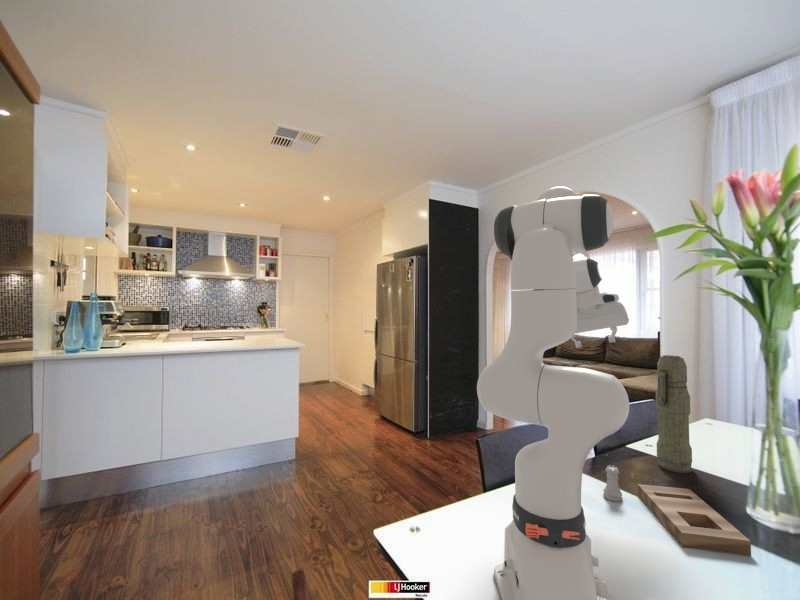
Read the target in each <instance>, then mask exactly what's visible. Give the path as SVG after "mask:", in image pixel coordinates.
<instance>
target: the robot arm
mask: <svg viewBox="0 0 800 600" xmlns="http://www.w3.org/2000/svg"><path fill="white" fill-rule="evenodd" d="M614 217H615V216H614V212H613V209H612V207H611V206H610V204H609V202H608V199H606V198H604V197H603V196H602V195H599V194H583V195H582V196H579V195H578V194H577V192H575V191H574V190H573V189H571V188H569V187H566V186H554V187H551V188H549V189H547V190H545V191H543V192H542V193H541V194H540V195H539V196H538V197H537V199H536V200H533V201H529V202H526V203H522V204H519V205H510V206H508V207H505V208H502V209H501V210H500V211H499V212H498V213H497V215H496V216H495V219H494V223H493V237H494V241H495V245H496V248H497V249H498V250H499V251H500V253H502V254H503V255H504V256H507V257H508V258H509V259H510V260H511V267H510V269H511V270H510V327H509V334H508V337H507V340H506V343H505V345H504V348H503V349H502V351H501V352H500V354H499V355H498V357H496V358H495V359H494V360H493V361H492V362H490V363H489V364H487V365H486V366H485V367H484V368H483V370H482V371H481V372H480V374H479V376H478V379H477V383H476V393H477V397H478V401H479V403H480V404H481V407H482V408H483V410H484V411H486V412H488V413H490V414H493V415H495V416H498V417H500V418H503V419H506V420H508V421H512V422H513V421H514V422H520V423H525V424H530V425H531V424H532V425H535V426H537V425H538V426H542V427H545V428H547V431H548V436H547V438H545V439H542V440H539V441H535V442H532V443H529V444H527V445H525V446H523V447H522V448H520V450H519V451H518V453H517V454H516V456H515V460H514V479H515V481H514V482H515V483H514V485H515V486H514V490H515V491H514V492H515V493H514V495H513V497H512V504H511V505H512V506H511V510H512V518H513V519H512V521H511V522H510V523H509V524H508V525H506V527H505V528H504V545H503V547H504V550H503V554H504V555H503V556H504V557H503V563H499V564H498V565H496V566H494V569H493V576H494V579H495V583H496V585H497V589H498V592H499V595H500V597H501V600H609V598H608V597H609V596H608V585H607V581H606V580H604V579H602V578H600V577H599V575H597V574H595V572H594V567H595V568H599V567H600V564H599V563H600V562H599V558H598V556H593V555H592V538H591V537H589V536H588V534H587V532H586V518H585V517H586V516H585V511H584V508H583V506H582V481H583V471H584V466H585V462H586V460H587V458H588V456H589V454H590V453H591V450H593V449H594V447H595V446H596V445H597V444H598V443H599V442H601V441H602V440H604V438H607V437H608V436H610V435H613V434H615V433H616V432H618V431H619V430H620V429H621V428H622V427H623V426H624V425H625V423H626V420H627V419H628V417H629V413H630V400H629V395H628V392H627V390H626V389H625V387H624V385H623V384H622V382H621V381H620V380H619V379H618V378H617V377H616V376H615V375H613V374H609V373H606V372H603V371H599V370H594V369H591V368H587V367H576V366H564V365H551V364H547V363H544V360H543V358H544V353H545V351H547V350H549V349H552V348H554V347H557V346H559V345H562V344H563V343H566V342H567V341H569V340H572V342H574V345H575V348H576V349H578V348H579V349H580V348H582V343H581V341H580V340H576V339H575V338H576V335H575V334H579V333H585V332H586V333H587V332H591V331H597V330H603V329H610V331H611V334H610V335H608V336H607V338H608V342H609V343H616V342H617V341H616V338H615V337H616V334H617V332H618V327H621V326H626V325H628V323H629V322H630V319H629V315H628V312H627V310H626V307H625V306H624V304H623V303H622V302H619V300H620V297H619V294H616V293H610V292H609V293H607V292H600V289H599V284H600V283H601V281H602V277H601V274H600V271H599V270H600V269H599V263H598V261H596V260H594V259H592V258H591V257H590V254H589V251H593V250H597V249H600V248H602V247H604V246H605V245H606V244H607V243H608V242H609V241H610V236H611V235H612V233H613V229H614V224H615V218H614Z"/></svg>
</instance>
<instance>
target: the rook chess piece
mask: <svg viewBox="0 0 800 600" xmlns="http://www.w3.org/2000/svg"><path fill="white" fill-rule="evenodd" d="M605 472H606V475H605V476H606V477H607V478H606V485H605V486H604V488H603V494H602V495H603V496H604V498H605V499H606V500H608V501H610V502H613V501H614V503H619V501H620V502H622V500H623V494H622V491H621V489H620V487H619V474H620V471H619V468H618V467H617V466H615V465H611V464H610V465H609V464H608V465H607V466H606V468H605Z"/></svg>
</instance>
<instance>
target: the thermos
mask: <svg viewBox="0 0 800 600" xmlns="http://www.w3.org/2000/svg"><path fill="white" fill-rule="evenodd" d="M656 366H657V368H656V369H657V370H656V372H657V377H656V378H657V381H658V383H657V389H656V391H655V409H656V412H657V433H658V435H657V436H658V439H657V442H656V457H657V465H658V466H659V467H660V468H662V469H664V470H666V471H670V472H673V473H680V474H689V473H691V472H692V471H693V469H692V463H693V452H692V451H693V448H692V446H691V444H690V418H689V417H690V415H691V396H690V393H689V391H688V386H687V383H688V368H687V367H688V366H687V364H686V362H685V359H684V357H681V356H679V355H668V354H665V355H664V354H663V355H662V356H659V358H658V362H657V365H656Z"/></svg>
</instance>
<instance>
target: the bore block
mask: <svg viewBox="0 0 800 600" xmlns="http://www.w3.org/2000/svg"><path fill="white" fill-rule="evenodd" d="M637 497H638V498H639V499H640V500H641V501H642V502H643V503H644V504H645V506H646V507H647V508H648V510H650V512H651V513H652V514H653V515H654V516H655V517H656V518H657V520H659V522H660V523H661V524H662V526H663V527H664V528H665V529H666V530H667V531H668V533H669V534H670V535H671V536H672V537H673V538H674V539H675V541H676V542H677V543H678V544H679V545H680V546H681V548H685V549H692V550H701V551H707V552H708V551H709V552H716V553H724V554H733V555H740V556H747V557H751V556H752V546H751V544H752V541H751V539H749V538H748V537H747V536H745V535H744V534H743V533H742V532H741V531H740V530H738V529H737V528H736V527H735V526H734V525H733V524H732V523H730V522H729V521H728V520H726V519H725V518H724V517H723V516H722V515H721V514H720V513H719V512H717V511H716V510H715V509H713V507H711V506H710V505H709V504H708V503H707V502H705V501H704V500H703V498H701V497H700V496H698V495H697V494H696V493H695V492H694V491H692V490H691V489H690V488H680V487H671V486H661V485H650V484H640V483H637Z"/></svg>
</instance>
